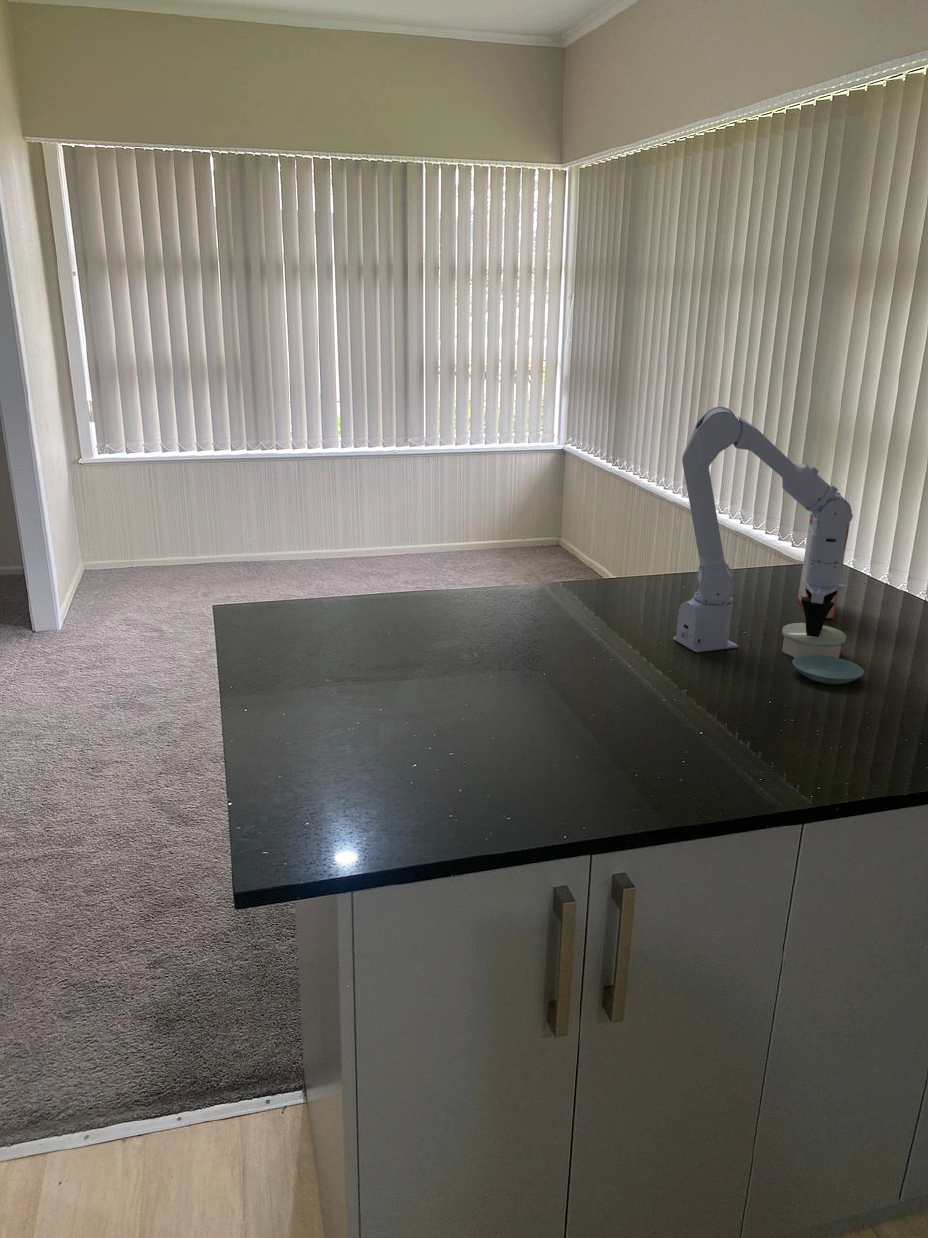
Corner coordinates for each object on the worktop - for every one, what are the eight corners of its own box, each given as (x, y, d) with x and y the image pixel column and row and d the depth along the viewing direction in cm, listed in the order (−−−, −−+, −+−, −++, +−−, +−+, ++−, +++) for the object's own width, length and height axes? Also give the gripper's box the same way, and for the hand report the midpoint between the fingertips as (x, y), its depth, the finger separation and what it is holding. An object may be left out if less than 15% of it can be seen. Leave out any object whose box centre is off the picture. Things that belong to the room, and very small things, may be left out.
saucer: (805, 661, 173) (806, 649, 173) (871, 677, 166) (873, 665, 166) (780, 678, 165) (782, 666, 164) (849, 696, 158) (851, 683, 157)
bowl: (807, 664, 171) (810, 647, 170) (772, 646, 180) (774, 630, 179) (851, 658, 175) (853, 642, 174) (814, 641, 183) (816, 625, 182)
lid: (809, 649, 169) (812, 629, 168) (769, 629, 179) (772, 610, 178) (858, 643, 173) (861, 623, 172) (816, 624, 183) (819, 605, 182)
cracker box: (835, 620, 197) (851, 522, 190) (805, 617, 198) (820, 520, 191) (825, 601, 210) (839, 508, 203) (797, 599, 211) (810, 506, 204)
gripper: (846, 571, 164) (834, 645, 168) (850, 553, 176) (839, 622, 181) (803, 566, 166) (793, 639, 171) (810, 549, 179) (800, 617, 183)
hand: (814, 630), depth 176 cm, fingers open, 7 cm apart
